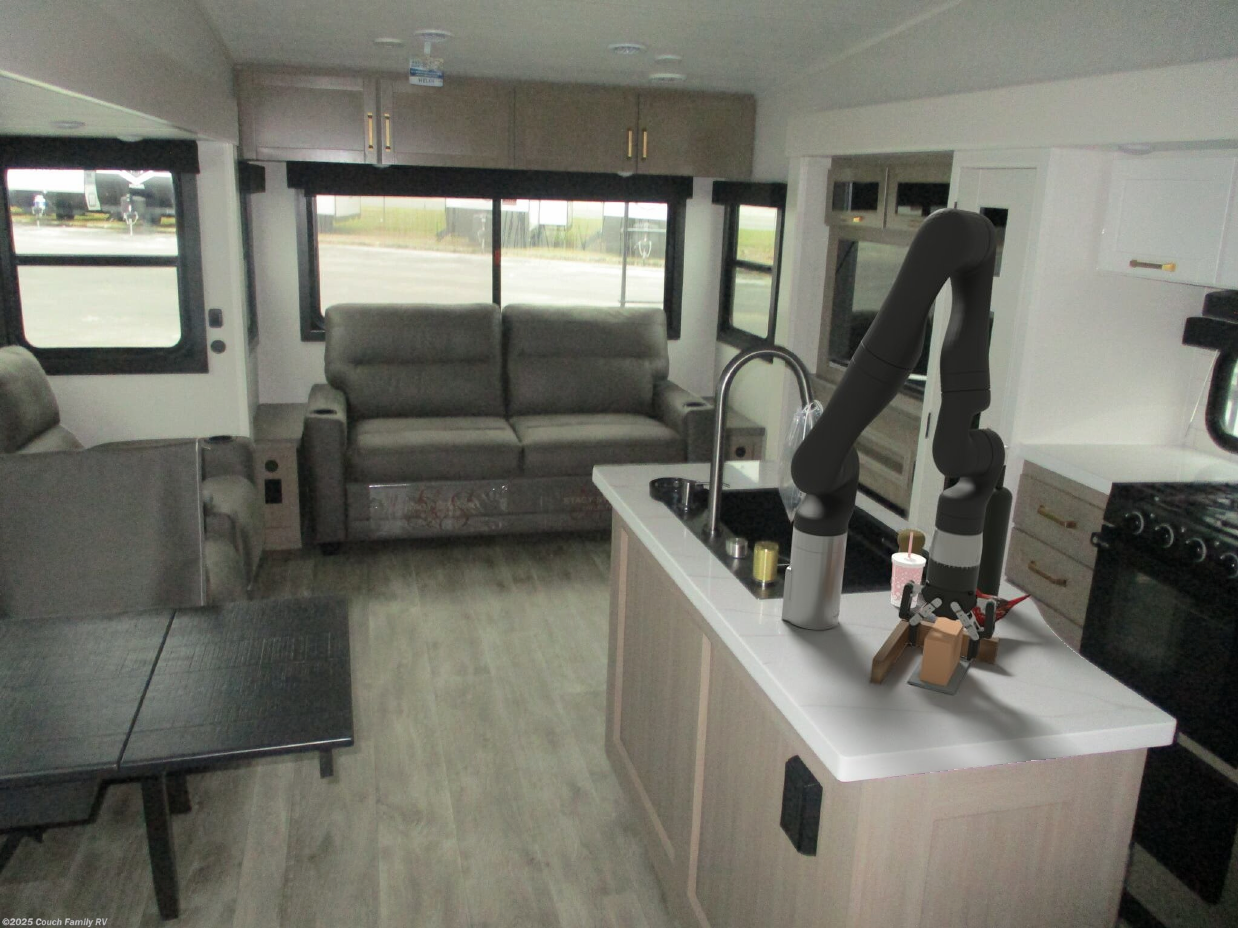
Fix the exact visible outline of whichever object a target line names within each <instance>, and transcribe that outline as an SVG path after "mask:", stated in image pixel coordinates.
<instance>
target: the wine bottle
mask: <svg viewBox="0 0 1238 928" xmlns="http://www.w3.org/2000/svg"><path fill="white" fill-rule="evenodd" d="M1004 448H1005V462H1004V466H1003V469H1002V472H1001V474H1000V477H999V479H998V481H997V484H996V486H995V488H994V491H993V493H992V496H991V498H990V500H989V502H988V504H987V506H986V512H985V519H984V526H983V534H982V553H981V560H980V567H979V574H978V581H977V589H978V590H979V591H980V592H981V593H982V594H985V595H991V596H997V597H999V593H1000V592H999V591H1000V586H1001V580H1002V572H1003V567H1004V566H1003V565H1004V561H1005V560H1004V558H1005V552H1006V545H1007V540H1008V539H1007V538H1008V532H1009V525H1010V517H1011V512H1012V504H1013V493H1012V491H1011V490H1009V489H1008V488H1007V487H1006V486H1004V484H1005V483H1004V482H1005V476H1006V469H1007V466H1008V460H1009V453H1010V446H1008V445H1005V444H1004Z"/></svg>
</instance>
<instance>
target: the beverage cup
mask: <svg viewBox="0 0 1238 928" xmlns="http://www.w3.org/2000/svg"><path fill="white" fill-rule="evenodd" d="M912 539H913V532H911V534H910V542H909V550H908V553H898V552H895V553H893V554H892V555H891V563H892V569H891V570H892V571H891V578H892V584H891V591H890V593H891V595H890V603H891V604H892V605H893V606H895V607H898V608H900V604H901V599H902V594H903V588H904V586H905V584H906V583H907V582H908V581H909V580H913V581H914V582H915V584H919V585H920V582H921V577H922V578H923V571H924V567H926V563H927V559H926V558H925V557H923V555H922V556H920V555H916V554H912V553H911V548H912ZM918 597H919V593H918V594H917V595H916V597H913V598H912V603H911V608H910V609H914V608H916V607H917V603H918V602H917V601H918Z"/></svg>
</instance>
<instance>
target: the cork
mask: <svg viewBox="0 0 1238 928" xmlns="http://www.w3.org/2000/svg"><path fill="white" fill-rule="evenodd" d="M911 532H913V539H912V548H911V553H912V554H916V555H920V556H922V557H923V555H922V549H923V548H925V544H926V539H927V538H926V536H925V534H924V533H923V532H921V531H919V530H917V529H912V528H911V529H908V528H906V529H903V530H901V531H900V532H899V533H898V535H897V544H898V546H899V548H898V552H897V553H908V550H909V542H910V534H911ZM889 582H890V585H892V577H891V578H890V580H889ZM920 585H922V586H923V576H922V577H921V582H920Z"/></svg>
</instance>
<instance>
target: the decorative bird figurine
mask: <svg viewBox="0 0 1238 928" xmlns="http://www.w3.org/2000/svg"><path fill="white" fill-rule="evenodd" d="M976 594H977V596H978V598H983V599H990V598H992V597H993V598H995V599H996V600H997V607H996V619H995V624H996V623H997V622H998V621H1000V620H1002V619H1004V618H1005V617H1006V616H1007V615H1008V613H1009V612H1010V611H1011V610H1012V608H1014V607H1015V606H1016V605H1018V604H1020V603H1022V602H1024V601H1025V600H1027V599H1028V598H1030V597H1031V594H1025V595H1022V596H1020V597H1017V598H1013V599H1010V600H1008V599H1005V598H1002V597H1000V596H998V597H997V596H991V595H985V594H982V593H981V592H980V591H979V590H978V589H977V588H976ZM971 611H972V612H973V614H974V616H975V618H976V621H977V623H978V625H979V626H980V628H984V623H985V614H984V613H982V612H981V608H980V607H979V606H978V605H976V607H974V608H973V609H972V610H971Z"/></svg>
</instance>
